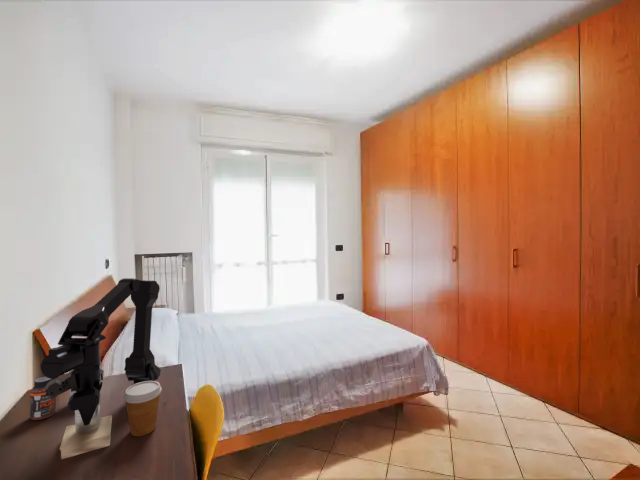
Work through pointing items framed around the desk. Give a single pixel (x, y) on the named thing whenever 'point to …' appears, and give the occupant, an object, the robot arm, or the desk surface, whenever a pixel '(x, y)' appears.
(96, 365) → the robot arm
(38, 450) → the desk surface
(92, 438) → the oak box
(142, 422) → the disposable coffee cup
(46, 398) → the supplement bottle
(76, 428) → the tin
